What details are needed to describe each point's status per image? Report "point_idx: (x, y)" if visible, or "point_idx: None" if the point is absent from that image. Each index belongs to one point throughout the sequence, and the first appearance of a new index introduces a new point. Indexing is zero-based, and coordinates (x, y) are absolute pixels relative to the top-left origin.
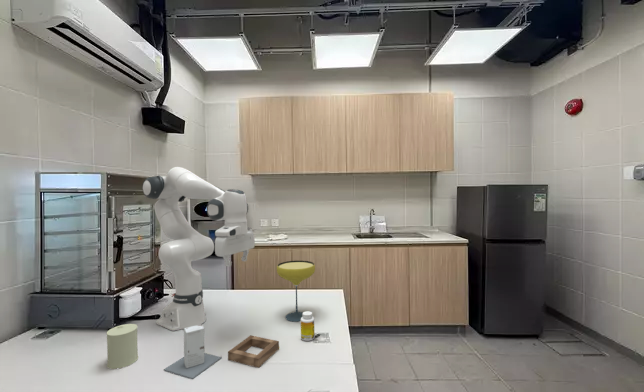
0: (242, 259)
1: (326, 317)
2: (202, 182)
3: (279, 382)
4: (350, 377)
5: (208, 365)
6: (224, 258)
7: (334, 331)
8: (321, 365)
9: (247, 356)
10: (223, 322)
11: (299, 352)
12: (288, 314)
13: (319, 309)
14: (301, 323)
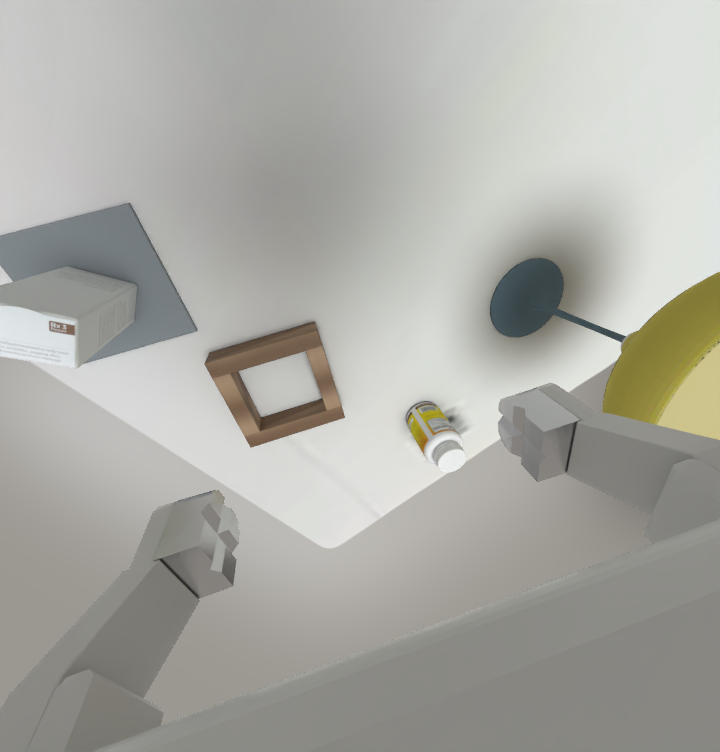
0: (516, 421)
1: (547, 371)
2: None
3: (253, 491)
4: (347, 539)
5: (143, 342)
6: (45, 691)
7: (479, 434)
8: (346, 498)
9: (236, 421)
10: (359, 36)
11: (358, 445)
12: (530, 267)
13: (598, 317)
14: (423, 440)
